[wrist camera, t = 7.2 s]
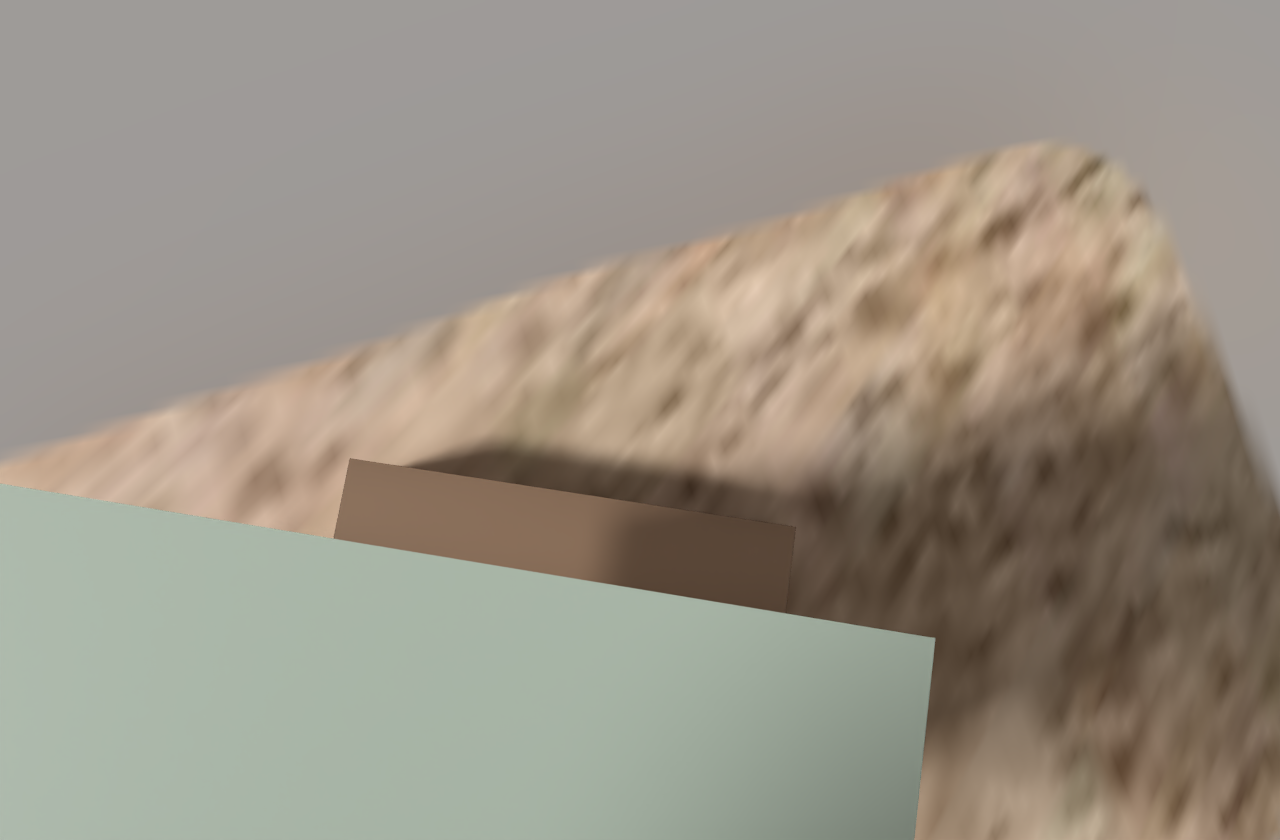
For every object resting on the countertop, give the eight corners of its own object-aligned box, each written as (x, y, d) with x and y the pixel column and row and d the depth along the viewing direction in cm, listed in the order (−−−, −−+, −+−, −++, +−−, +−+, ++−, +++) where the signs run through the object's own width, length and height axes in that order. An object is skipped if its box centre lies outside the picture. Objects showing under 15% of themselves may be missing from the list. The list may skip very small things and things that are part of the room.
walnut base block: (717, 955, 22) (737, 1010, 19) (297, 895, 22) (252, 940, 19) (769, 536, 23) (796, 527, 20) (380, 476, 23) (349, 458, 20)
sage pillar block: (632, 947, 15) (786, 2058, 4) (302, 896, 15) (-641, 1869, 4) (682, 615, 16) (933, 639, 5) (372, 563, 16) (-192, 452, 4)
